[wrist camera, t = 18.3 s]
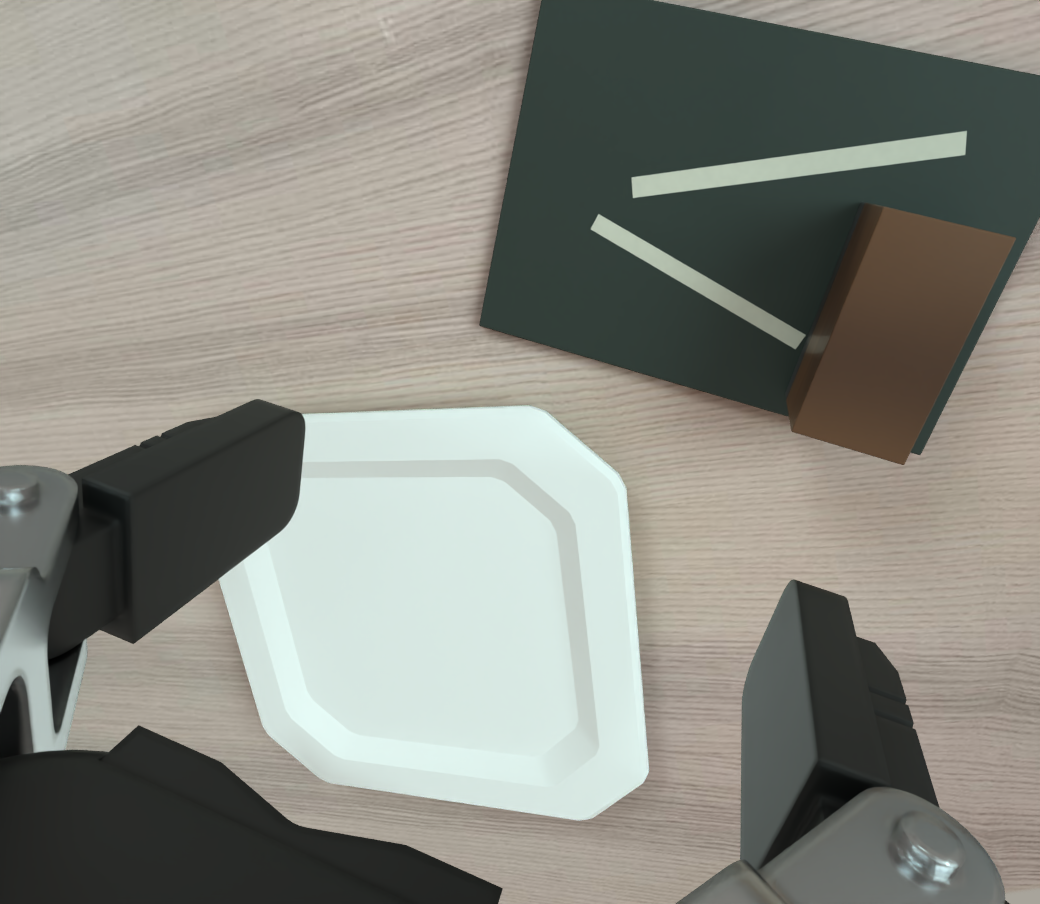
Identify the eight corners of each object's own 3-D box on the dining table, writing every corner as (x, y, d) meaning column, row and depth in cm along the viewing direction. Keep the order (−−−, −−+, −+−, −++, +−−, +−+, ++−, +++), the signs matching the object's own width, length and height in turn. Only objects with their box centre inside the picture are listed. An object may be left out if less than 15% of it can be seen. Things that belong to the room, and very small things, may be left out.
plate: (657, 804, 41) (652, 836, 39) (293, 754, 48) (274, 778, 47) (625, 390, 33) (617, 404, 31) (195, 409, 40) (166, 421, 38)
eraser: (860, 201, 27) (883, 206, 22) (971, 227, 26) (1017, 237, 22) (784, 394, 30) (790, 431, 26) (880, 422, 29) (904, 465, 25)
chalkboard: (548, -18, 28) (545, -22, 27) (1098, 89, 24) (1105, 87, 24) (482, 323, 34) (478, 325, 33) (918, 451, 30) (920, 455, 29)
